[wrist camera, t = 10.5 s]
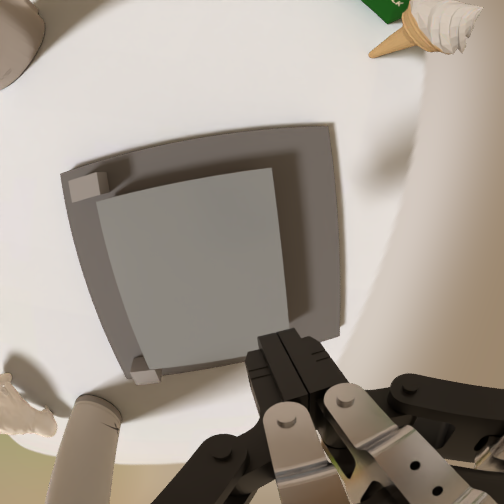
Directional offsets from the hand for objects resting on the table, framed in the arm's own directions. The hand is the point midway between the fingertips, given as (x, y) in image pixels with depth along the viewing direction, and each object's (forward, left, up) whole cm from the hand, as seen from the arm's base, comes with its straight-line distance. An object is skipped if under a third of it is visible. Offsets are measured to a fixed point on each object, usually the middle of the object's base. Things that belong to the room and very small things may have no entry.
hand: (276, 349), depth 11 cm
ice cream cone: (-18, +16, -13) cm, 27 cm away
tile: (0, -9, -10) cm, 14 cm away
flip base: (0, -2, -13) cm, 13 cm away
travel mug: (+16, -20, -13) cm, 29 cm away
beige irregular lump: (+14, -32, -13) cm, 37 cm away
